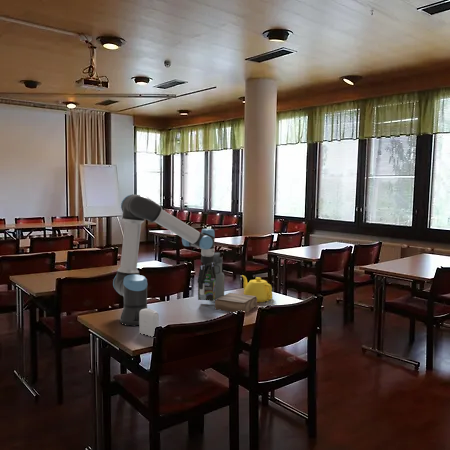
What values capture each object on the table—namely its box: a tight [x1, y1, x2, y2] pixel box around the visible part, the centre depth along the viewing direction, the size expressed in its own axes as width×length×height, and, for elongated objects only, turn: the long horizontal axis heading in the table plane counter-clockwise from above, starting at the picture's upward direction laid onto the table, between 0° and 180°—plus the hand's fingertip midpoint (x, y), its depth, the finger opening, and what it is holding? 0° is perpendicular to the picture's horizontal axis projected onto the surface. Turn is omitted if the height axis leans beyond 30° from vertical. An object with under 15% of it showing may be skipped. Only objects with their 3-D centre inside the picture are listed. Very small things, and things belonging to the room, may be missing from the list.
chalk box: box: [197, 273, 215, 302], centre depth 269 cm, size 9×9×15 cm
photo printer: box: [138, 307, 160, 338], centre depth 214 cm, size 10×4×12 cm, turn 54°
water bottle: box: [213, 252, 225, 300], centre depth 285 cm, size 10×10×28 cm
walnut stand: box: [214, 292, 258, 313], centre depth 263 cm, size 18×18×6 cm
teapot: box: [241, 274, 274, 303], centre depth 284 cm, size 25×18×14 cm
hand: (206, 292), depth 269 cm, fingers closed on chalk box, 11 cm apart
